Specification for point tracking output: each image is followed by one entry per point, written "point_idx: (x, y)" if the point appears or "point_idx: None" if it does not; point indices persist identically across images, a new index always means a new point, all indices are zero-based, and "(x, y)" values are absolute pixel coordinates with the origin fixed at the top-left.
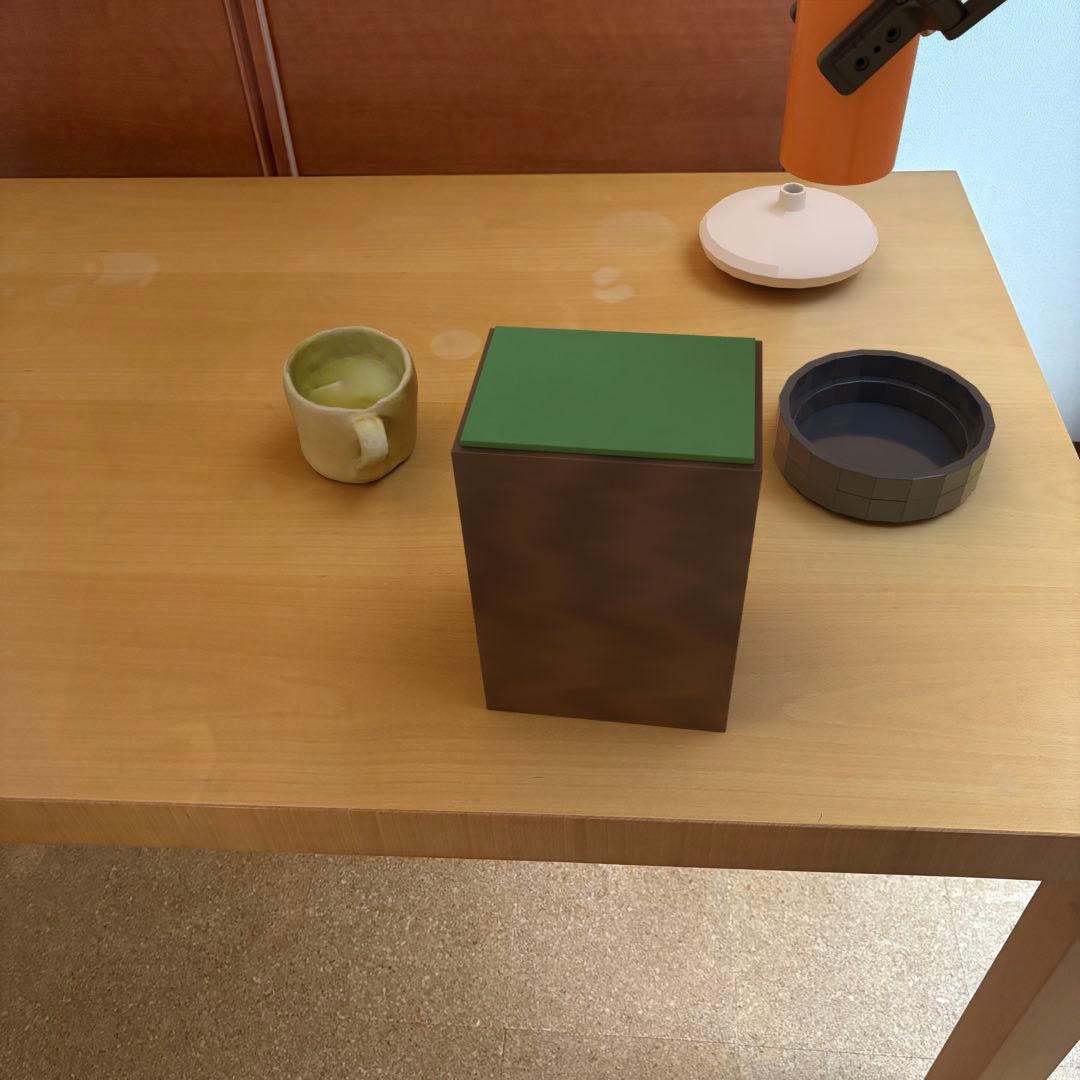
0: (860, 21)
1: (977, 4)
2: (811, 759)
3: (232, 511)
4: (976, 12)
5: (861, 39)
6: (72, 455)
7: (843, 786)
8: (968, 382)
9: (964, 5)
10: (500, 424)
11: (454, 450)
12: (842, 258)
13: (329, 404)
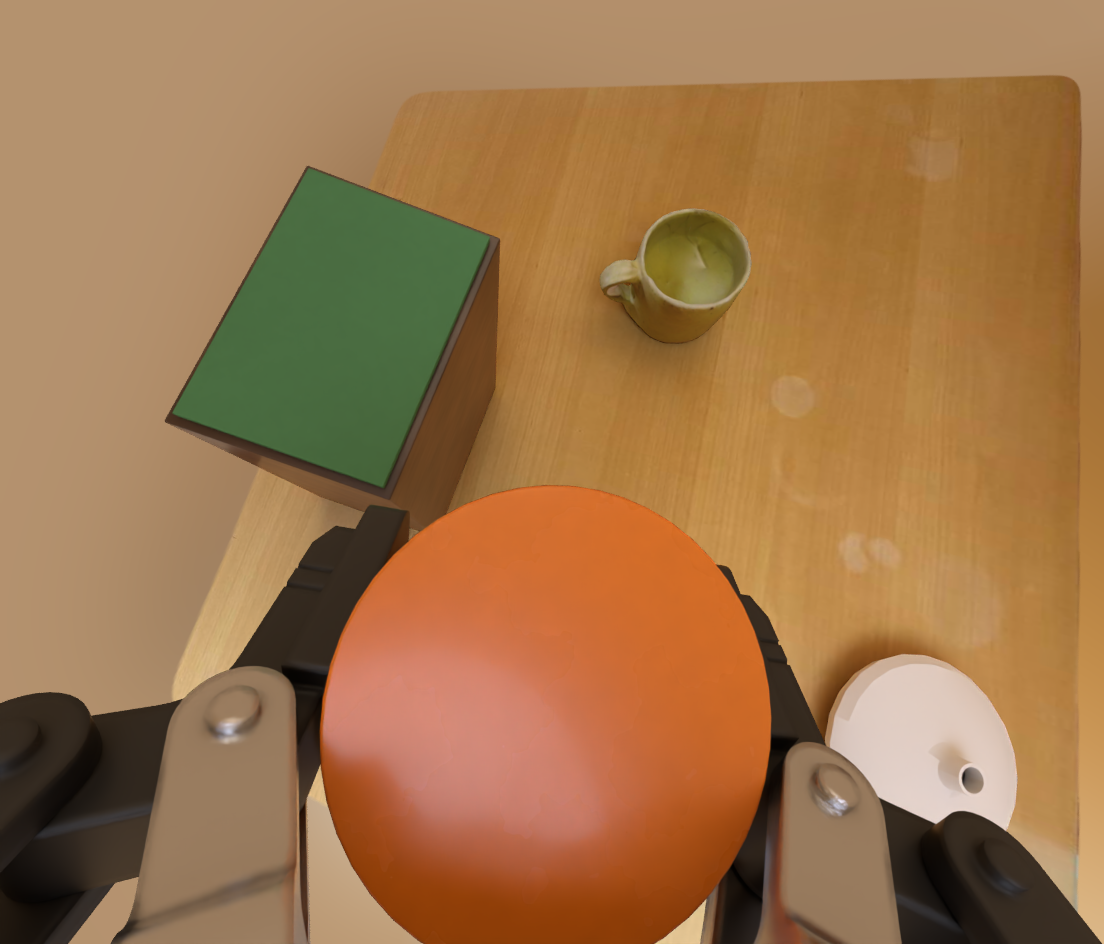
0: (328, 588)
1: None
2: (279, 547)
3: (616, 215)
4: None
5: (311, 586)
6: (697, 121)
7: (250, 561)
8: None
9: (12, 896)
10: (318, 204)
11: (307, 168)
12: None
13: (677, 257)
